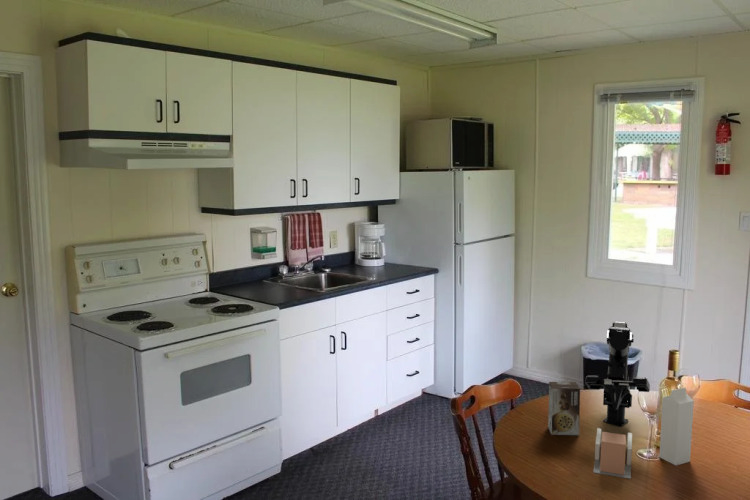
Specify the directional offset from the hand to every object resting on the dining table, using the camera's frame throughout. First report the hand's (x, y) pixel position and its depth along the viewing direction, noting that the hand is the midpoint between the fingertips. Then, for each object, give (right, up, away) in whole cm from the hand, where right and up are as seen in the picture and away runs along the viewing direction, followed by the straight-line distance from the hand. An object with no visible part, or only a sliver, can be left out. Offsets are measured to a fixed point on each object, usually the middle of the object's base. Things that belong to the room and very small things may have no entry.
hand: (615, 409), depth 196 cm
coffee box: (-13, -11, +12) cm, 20 cm away
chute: (-4, -13, -9) cm, 16 cm away
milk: (+14, -13, -9) cm, 21 cm away
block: (-6, -14, -14) cm, 20 cm away
